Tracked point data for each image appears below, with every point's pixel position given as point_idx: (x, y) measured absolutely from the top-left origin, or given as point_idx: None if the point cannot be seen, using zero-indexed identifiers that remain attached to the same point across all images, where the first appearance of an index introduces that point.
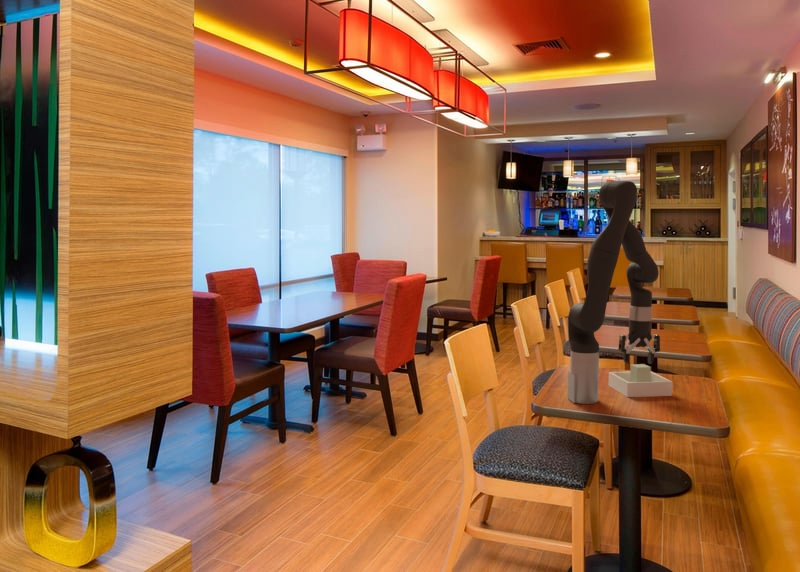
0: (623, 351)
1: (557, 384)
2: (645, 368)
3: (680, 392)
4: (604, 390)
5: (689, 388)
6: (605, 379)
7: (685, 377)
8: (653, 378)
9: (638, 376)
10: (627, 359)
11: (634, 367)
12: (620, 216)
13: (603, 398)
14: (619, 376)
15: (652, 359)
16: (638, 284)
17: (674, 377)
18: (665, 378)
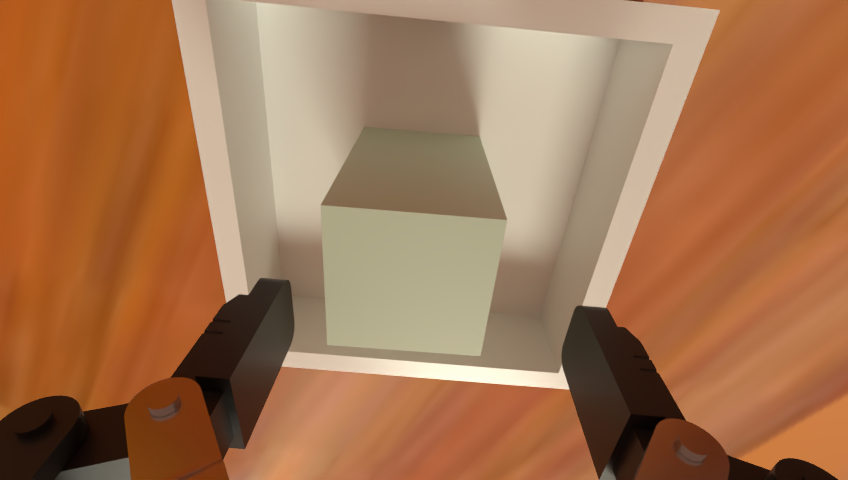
0: (789, 466)
1: (807, 391)
2: (395, 203)
3: (125, 80)
4: (648, 237)
5: (28, 171)
6: (476, 421)
7: (8, 382)
8: (262, 267)
9: (475, 174)
10: (626, 346)
11: (493, 273)
12: None
13: (843, 31)
14: (497, 346)
15: (239, 310)
16: None
17: (74, 392)
18: (197, 118)
